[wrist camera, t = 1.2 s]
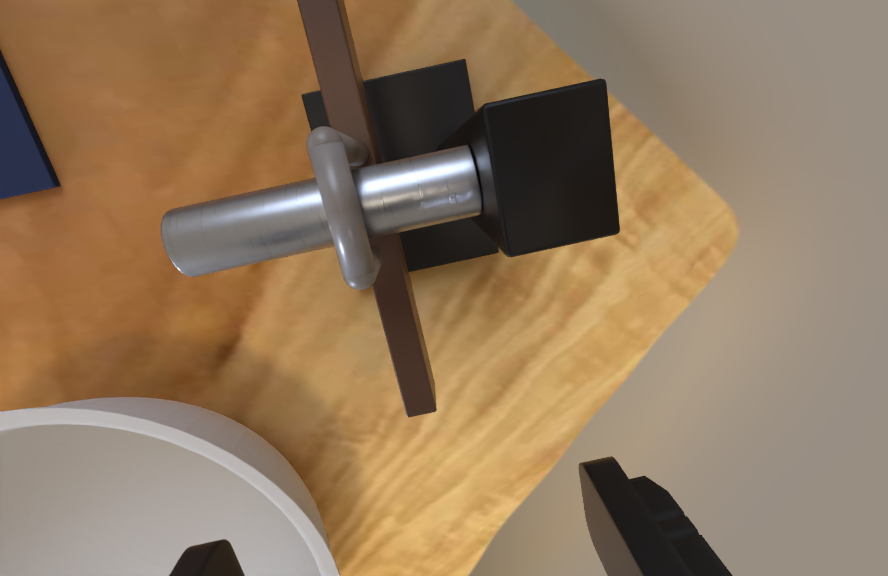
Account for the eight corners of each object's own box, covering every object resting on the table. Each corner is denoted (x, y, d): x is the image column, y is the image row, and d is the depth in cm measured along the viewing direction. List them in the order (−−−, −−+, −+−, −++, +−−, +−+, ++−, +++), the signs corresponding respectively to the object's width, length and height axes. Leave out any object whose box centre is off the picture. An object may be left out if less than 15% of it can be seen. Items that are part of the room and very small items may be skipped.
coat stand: (298, 98, 27) (-59, -95, 7) (463, 63, 27) (598, -238, 7) (349, 281, 30) (212, 514, 10) (496, 249, 30) (652, 419, 10)
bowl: (435, 481, 35) (442, 600, 26) (227, 668, 40) (165, 830, 30) (143, 252, 29) (7, 296, 19) (-67, 504, 33) (-265, 642, 24)
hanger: (295, -52, 15) (172, -270, 7) (329, -59, 15) (241, -285, 7) (408, 388, 19) (401, 522, 12) (435, 382, 19) (444, 513, 12)
